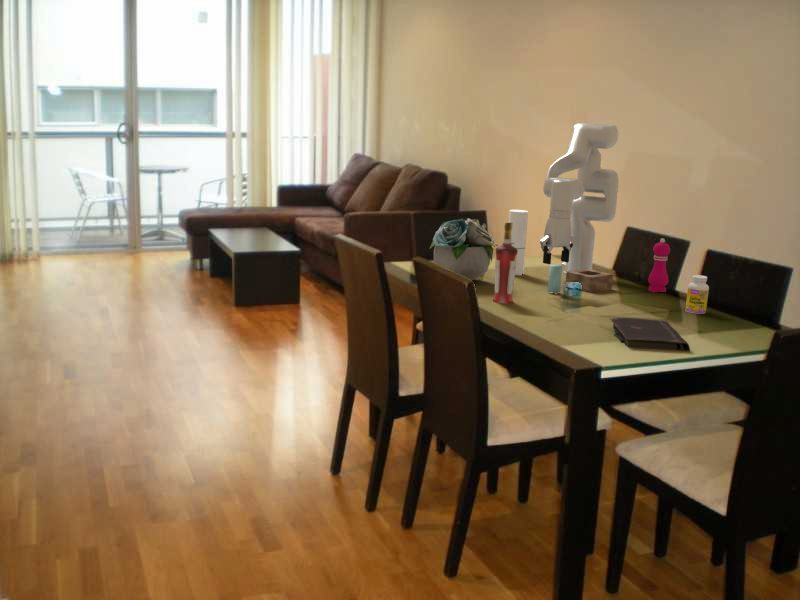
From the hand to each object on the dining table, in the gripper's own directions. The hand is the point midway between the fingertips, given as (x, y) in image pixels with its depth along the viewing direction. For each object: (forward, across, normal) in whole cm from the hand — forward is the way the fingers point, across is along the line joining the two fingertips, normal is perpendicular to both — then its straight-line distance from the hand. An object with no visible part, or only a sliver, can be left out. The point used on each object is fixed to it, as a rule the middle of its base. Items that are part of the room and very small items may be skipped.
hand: (555, 262), depth 326 cm
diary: (+13, +27, +60) cm, 67 cm away
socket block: (+11, -18, +2) cm, 21 cm away
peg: (+11, -1, 0) cm, 11 cm away
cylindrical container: (+11, -13, -31) cm, 36 cm away
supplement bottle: (+12, -20, +46) cm, 51 cm away
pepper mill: (+11, -38, +18) cm, 43 cm away
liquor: (+12, +29, +3) cm, 32 cm away
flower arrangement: (+11, +18, -30) cm, 36 cm away
